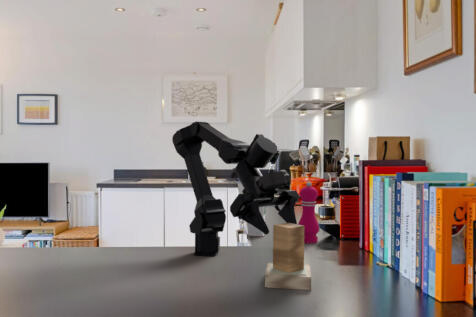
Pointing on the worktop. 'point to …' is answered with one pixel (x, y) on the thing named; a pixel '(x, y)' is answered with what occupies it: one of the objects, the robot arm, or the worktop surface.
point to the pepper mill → (309, 213)
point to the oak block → (288, 247)
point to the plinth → (288, 278)
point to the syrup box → (254, 231)
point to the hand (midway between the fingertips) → (282, 231)
